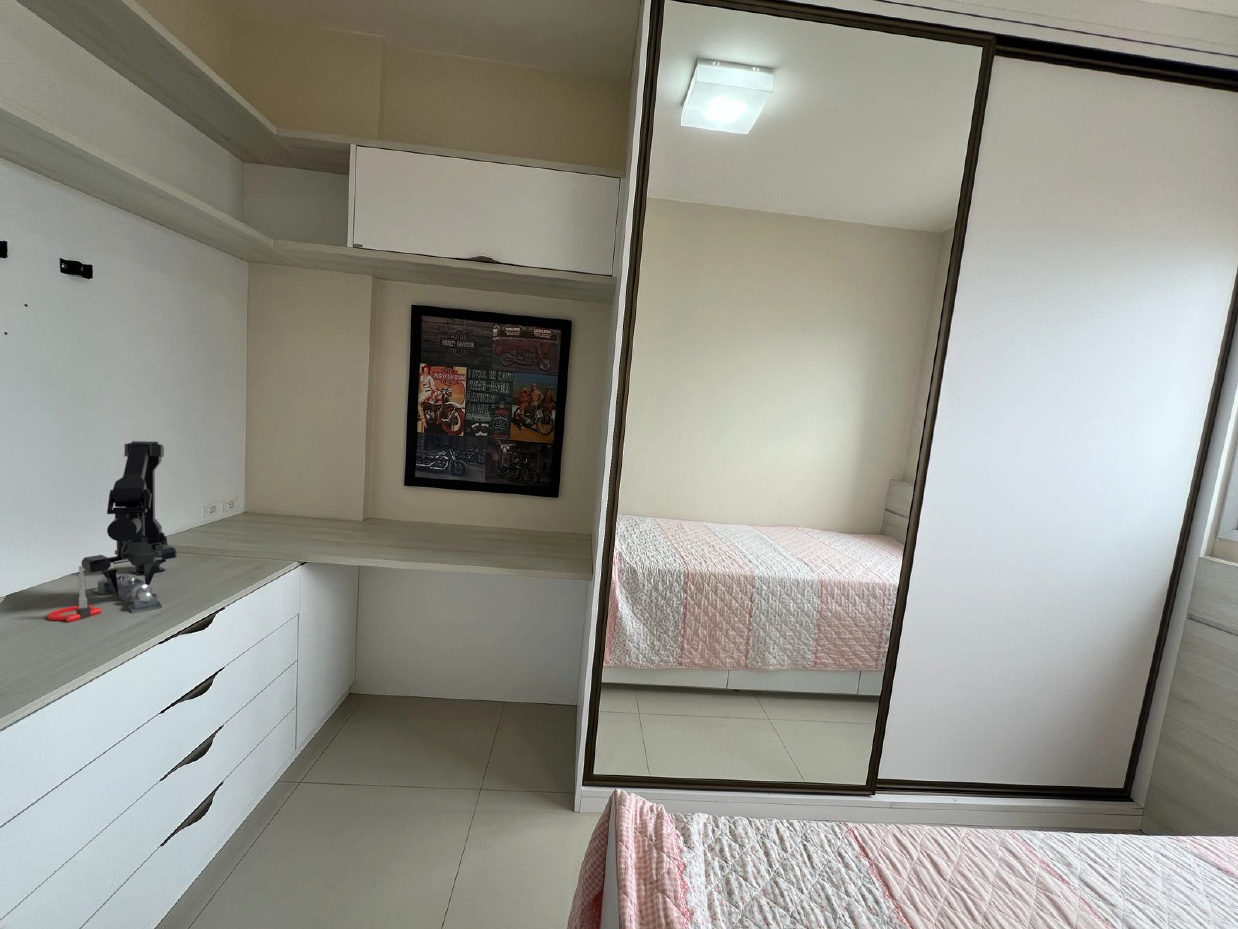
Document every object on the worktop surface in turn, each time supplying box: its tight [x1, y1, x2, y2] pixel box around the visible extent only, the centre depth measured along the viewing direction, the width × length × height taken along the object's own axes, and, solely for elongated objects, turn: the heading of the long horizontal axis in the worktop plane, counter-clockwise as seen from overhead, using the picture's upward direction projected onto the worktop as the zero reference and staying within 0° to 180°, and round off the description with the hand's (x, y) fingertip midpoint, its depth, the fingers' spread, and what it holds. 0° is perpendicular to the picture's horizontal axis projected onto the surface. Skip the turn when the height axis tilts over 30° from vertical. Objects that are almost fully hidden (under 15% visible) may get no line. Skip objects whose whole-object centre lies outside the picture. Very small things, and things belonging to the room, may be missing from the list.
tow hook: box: [47, 565, 102, 623], centre depth 141 cm, size 8×13×9 cm
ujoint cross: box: [118, 576, 145, 603], centre depth 154 cm, size 6×4×6 cm, turn 61°
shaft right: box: [128, 583, 163, 614], centre depth 149 cm, size 7×6×5 cm
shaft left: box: [91, 573, 131, 596], centre depth 157 cm, size 7×6×5 cm
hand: (131, 588), depth 154 cm, fingers open, 7 cm apart
